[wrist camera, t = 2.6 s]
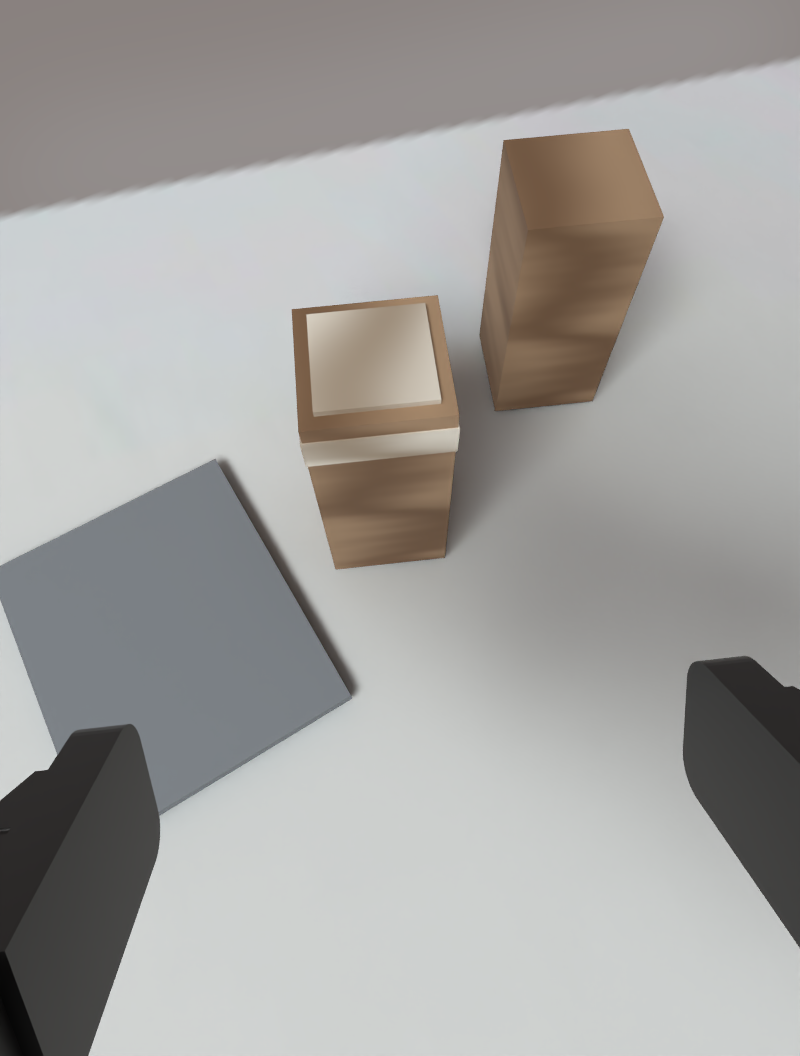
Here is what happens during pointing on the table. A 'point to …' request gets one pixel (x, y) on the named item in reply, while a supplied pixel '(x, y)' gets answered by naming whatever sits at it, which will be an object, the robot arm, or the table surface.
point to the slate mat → (170, 634)
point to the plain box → (563, 263)
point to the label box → (378, 426)
